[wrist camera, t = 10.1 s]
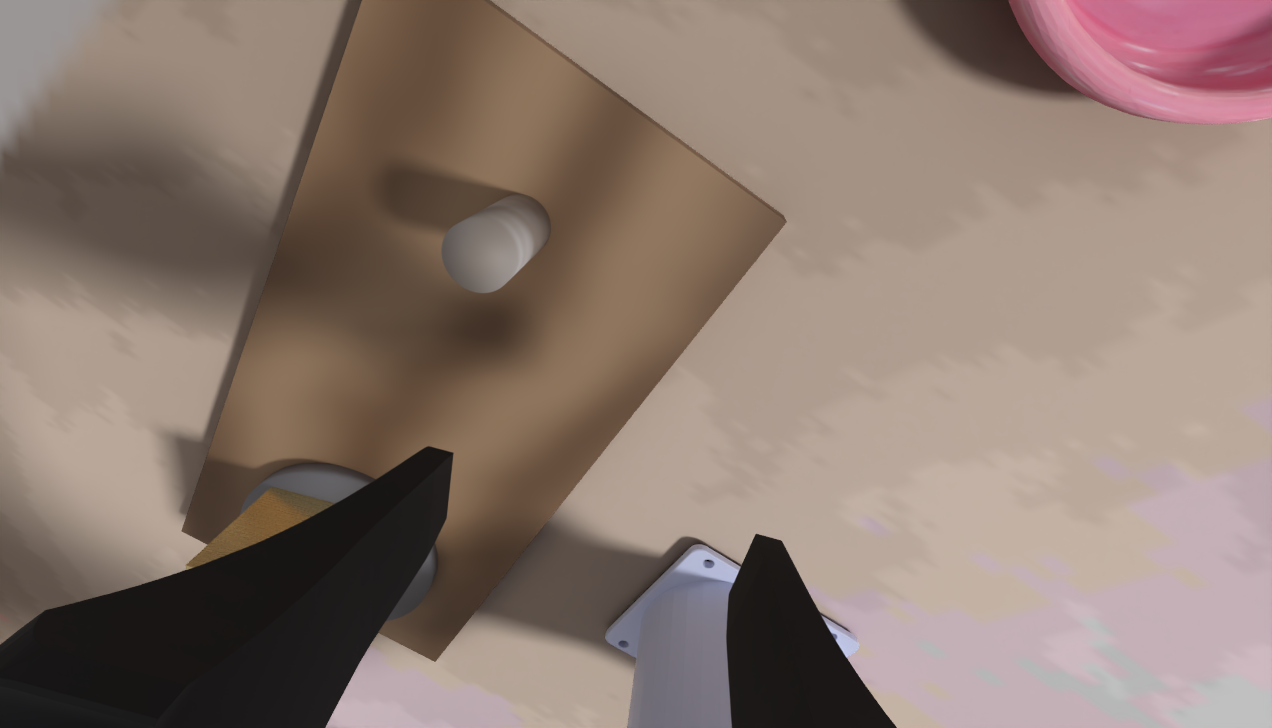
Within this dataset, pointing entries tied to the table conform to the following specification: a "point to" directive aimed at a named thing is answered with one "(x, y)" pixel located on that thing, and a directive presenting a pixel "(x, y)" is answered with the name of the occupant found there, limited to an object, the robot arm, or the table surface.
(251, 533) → the collar
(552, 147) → the board
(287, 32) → the table surface
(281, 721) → the robot arm
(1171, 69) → the pink ring
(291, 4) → the table surface
